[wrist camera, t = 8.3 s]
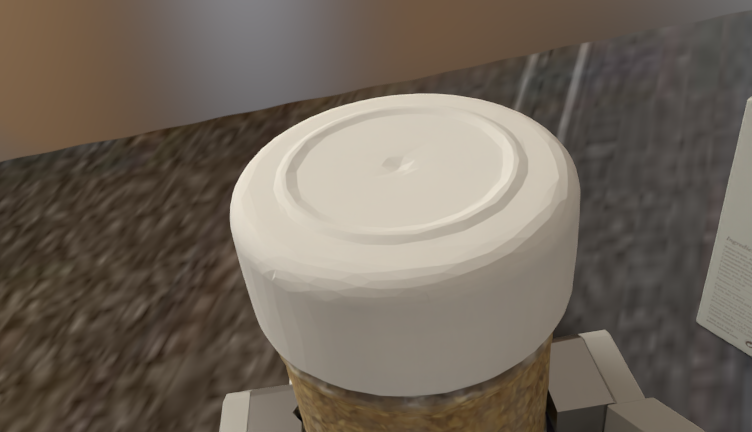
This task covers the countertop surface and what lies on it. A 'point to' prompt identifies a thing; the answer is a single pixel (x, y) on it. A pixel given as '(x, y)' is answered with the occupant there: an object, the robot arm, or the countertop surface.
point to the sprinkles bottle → (411, 262)
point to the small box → (733, 254)
